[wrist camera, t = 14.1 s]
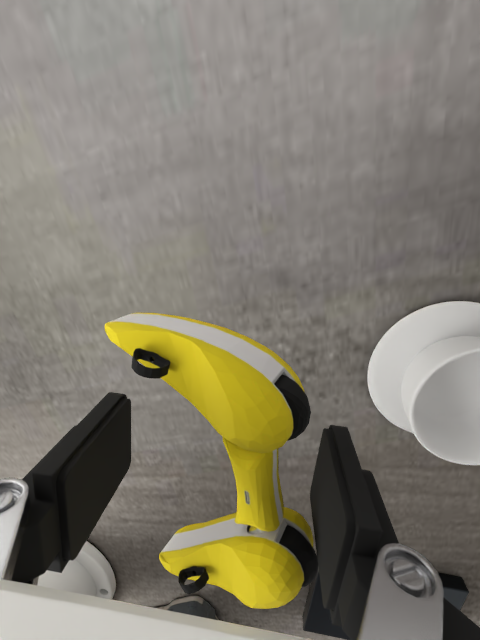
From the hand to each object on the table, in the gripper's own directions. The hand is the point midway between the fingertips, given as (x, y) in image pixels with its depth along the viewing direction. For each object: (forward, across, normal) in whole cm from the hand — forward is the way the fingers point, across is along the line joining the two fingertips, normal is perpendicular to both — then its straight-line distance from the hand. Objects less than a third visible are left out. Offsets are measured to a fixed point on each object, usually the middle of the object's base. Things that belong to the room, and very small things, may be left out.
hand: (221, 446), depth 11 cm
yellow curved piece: (+1, 0, 0) cm, 1 cm away
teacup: (+12, -13, +1) cm, 18 cm away
